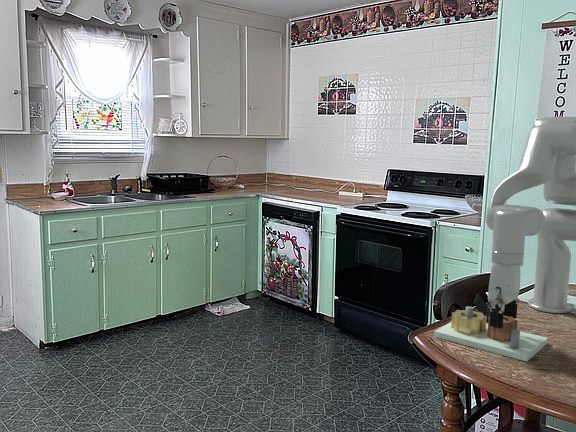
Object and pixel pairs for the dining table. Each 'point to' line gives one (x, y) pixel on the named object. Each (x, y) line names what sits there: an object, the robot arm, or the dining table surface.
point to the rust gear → (502, 330)
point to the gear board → (496, 341)
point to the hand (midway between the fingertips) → (503, 322)
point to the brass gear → (468, 322)
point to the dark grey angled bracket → (482, 306)
